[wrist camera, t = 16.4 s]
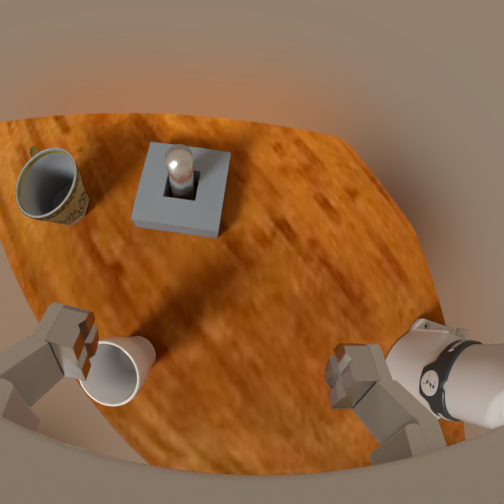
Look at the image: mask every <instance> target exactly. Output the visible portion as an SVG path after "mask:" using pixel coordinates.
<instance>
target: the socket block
mask: <svg viewBox="0 0 504 504" xmlns="http://www.w3.org/2000/svg"><path fill="white" fill-rule="evenodd" d="M173 145H174V144H165V143H156V142H151V143H150V147H149V150H148V154H147V157H146V161H145V164H144V168H143V172H142V175H141V179H140V183H139V187H138V191H137V195H136V199H135V203H134V208H133V212H132V216H131V220H132V221H133V222H134V224H135V225H136V226H137V227H141V228H148V229H155V230H162V231H169V232H176V233H183V234H190V235H196V236H203V237H210V238H217V236H218V231H219V225H220V218H221V212H222V205H223V199H224V193H225V186H226V180H227V174H228V168H229V162H230V156H231V152H225V151H219V150H212V149H205V148H198V147H190V146H188V147H189V148H190V149H191V151H192V154H193V176H194V182H199V183H198V188H197V193H196V199H195V201H192V200H185V199H178V198H171V197H168V194H169V189H170V185H171V184H170V180H169V175H168V171H167V166H166V162H165V153H166V151H167V150H168V149H169V148H170V147H171V146H173Z"/></svg>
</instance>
